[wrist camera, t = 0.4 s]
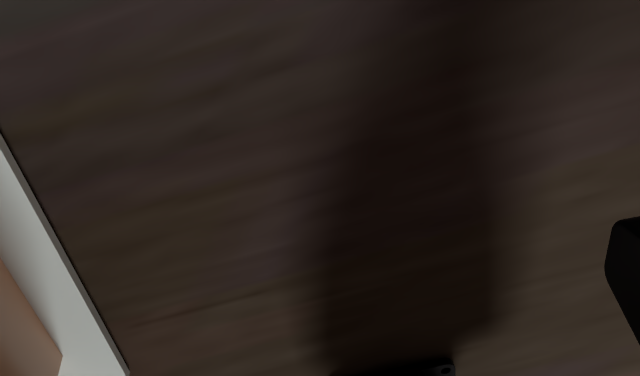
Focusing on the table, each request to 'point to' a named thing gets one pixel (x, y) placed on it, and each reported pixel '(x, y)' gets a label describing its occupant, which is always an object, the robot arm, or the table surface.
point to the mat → (51, 280)
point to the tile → (23, 335)
